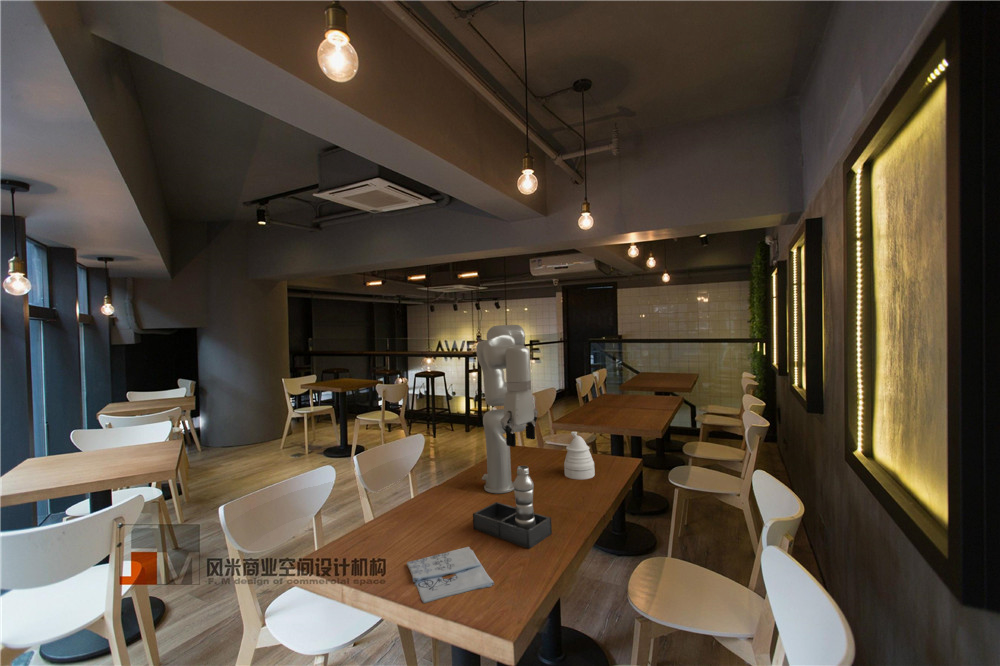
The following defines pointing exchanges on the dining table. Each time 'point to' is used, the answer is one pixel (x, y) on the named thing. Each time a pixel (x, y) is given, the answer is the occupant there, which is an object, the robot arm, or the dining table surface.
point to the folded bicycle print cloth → (437, 566)
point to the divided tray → (510, 525)
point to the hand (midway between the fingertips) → (521, 442)
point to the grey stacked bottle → (524, 499)
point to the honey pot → (578, 460)
